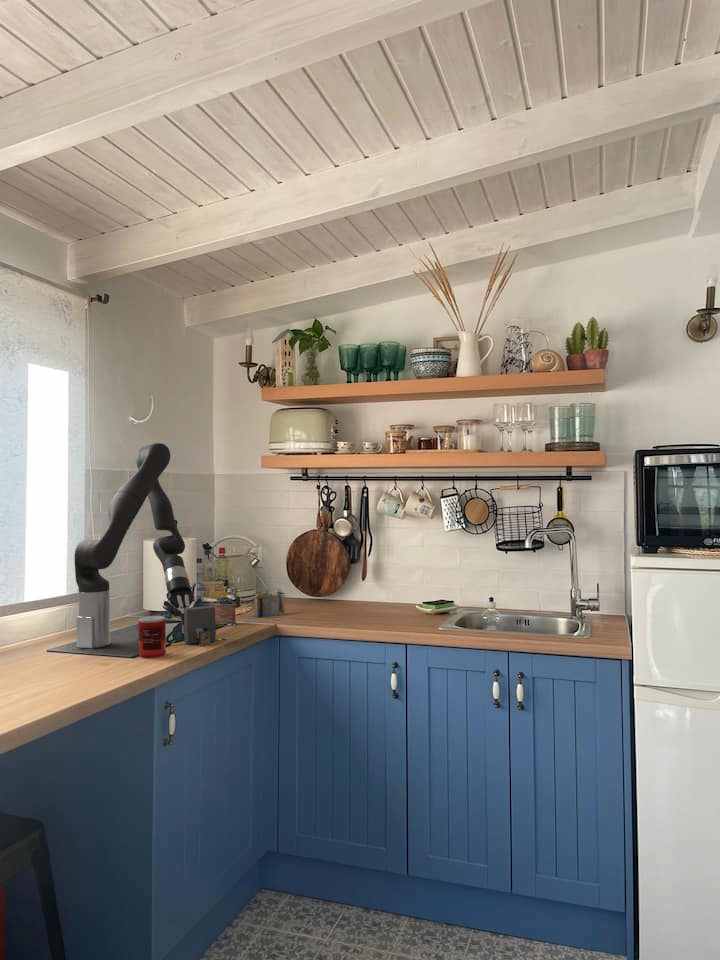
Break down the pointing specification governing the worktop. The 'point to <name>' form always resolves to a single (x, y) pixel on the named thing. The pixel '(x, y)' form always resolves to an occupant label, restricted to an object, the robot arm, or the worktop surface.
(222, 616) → the lighter
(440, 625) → the worktop surface
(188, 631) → the block
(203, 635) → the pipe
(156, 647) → the canned food
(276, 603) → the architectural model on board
